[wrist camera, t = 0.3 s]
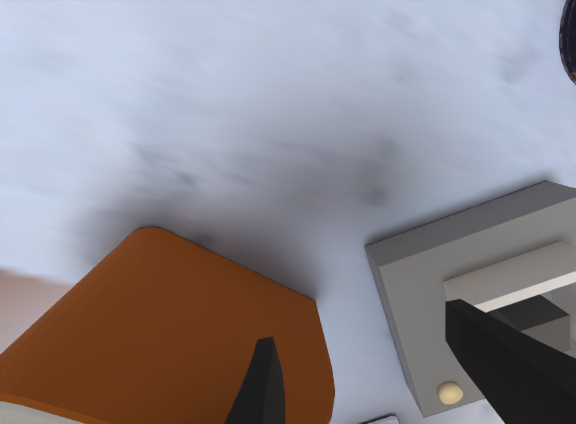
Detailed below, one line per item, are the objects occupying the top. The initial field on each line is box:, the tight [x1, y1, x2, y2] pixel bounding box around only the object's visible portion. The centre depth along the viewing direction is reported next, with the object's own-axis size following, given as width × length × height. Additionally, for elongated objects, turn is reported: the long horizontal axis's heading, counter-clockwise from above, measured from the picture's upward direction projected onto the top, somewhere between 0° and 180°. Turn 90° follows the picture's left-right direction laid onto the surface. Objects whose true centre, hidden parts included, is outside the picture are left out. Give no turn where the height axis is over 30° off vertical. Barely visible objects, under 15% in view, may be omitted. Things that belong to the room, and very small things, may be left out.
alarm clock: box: [0, 227, 335, 424], centre depth 16 cm, size 15×8×14 cm, turn 59°
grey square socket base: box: [365, 181, 576, 418], centre depth 21 cm, size 16×14×6 cm
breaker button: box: [485, 294, 571, 352], centre depth 20 cm, size 3×3×4 cm
